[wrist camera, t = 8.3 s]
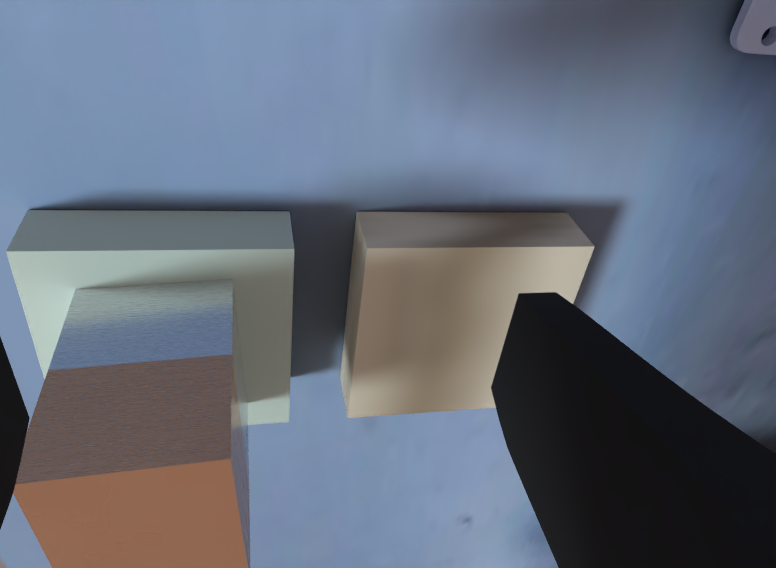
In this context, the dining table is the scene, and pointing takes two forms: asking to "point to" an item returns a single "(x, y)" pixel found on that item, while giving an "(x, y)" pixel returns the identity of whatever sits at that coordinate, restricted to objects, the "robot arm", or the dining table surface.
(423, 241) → the stand
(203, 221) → the stand
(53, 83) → the dining table surface
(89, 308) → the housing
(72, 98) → the dining table surface
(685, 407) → the robot arm
